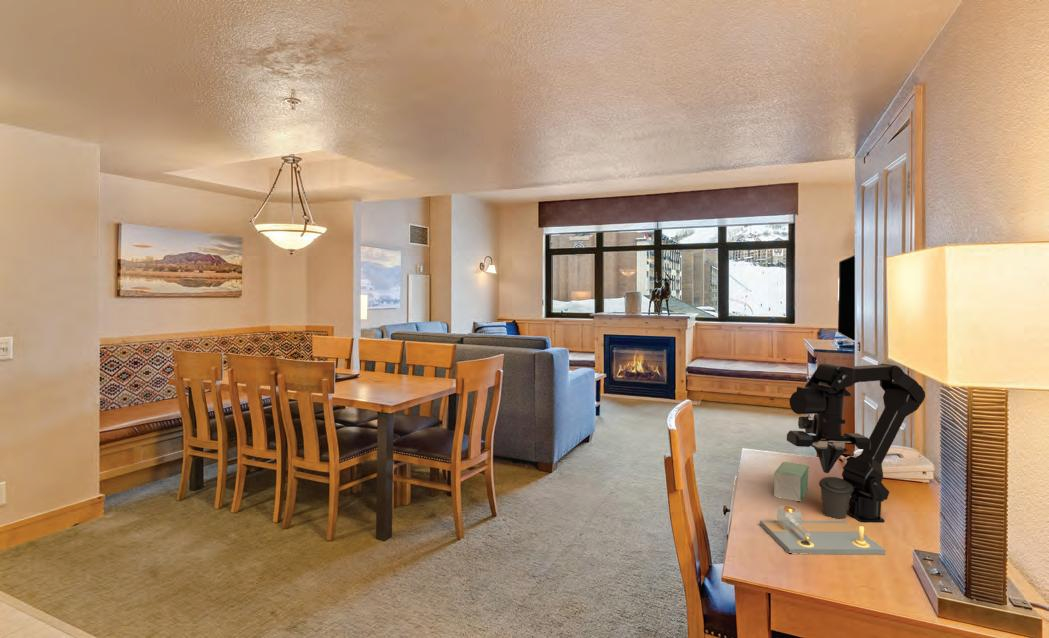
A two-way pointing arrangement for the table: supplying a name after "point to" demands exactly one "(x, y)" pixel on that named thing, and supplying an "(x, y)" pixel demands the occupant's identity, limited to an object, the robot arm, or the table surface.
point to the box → (791, 481)
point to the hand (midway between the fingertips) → (825, 472)
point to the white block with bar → (791, 520)
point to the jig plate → (824, 538)
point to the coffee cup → (835, 496)
